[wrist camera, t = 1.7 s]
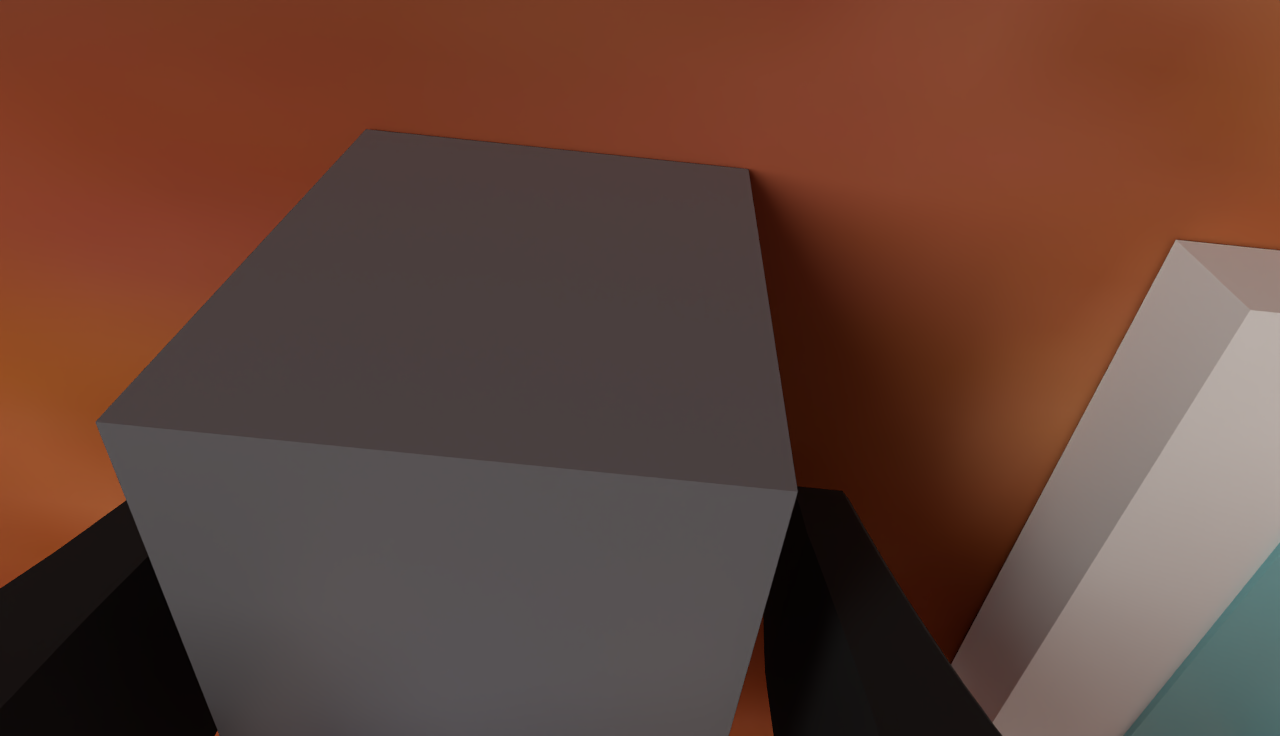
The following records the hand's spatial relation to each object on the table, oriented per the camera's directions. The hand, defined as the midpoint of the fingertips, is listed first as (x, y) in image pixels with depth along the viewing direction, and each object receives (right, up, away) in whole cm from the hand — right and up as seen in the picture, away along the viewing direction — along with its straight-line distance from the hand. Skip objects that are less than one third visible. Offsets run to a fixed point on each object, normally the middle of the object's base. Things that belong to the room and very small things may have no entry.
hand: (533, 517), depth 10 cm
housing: (0, +1, +1) cm, 1 cm away
